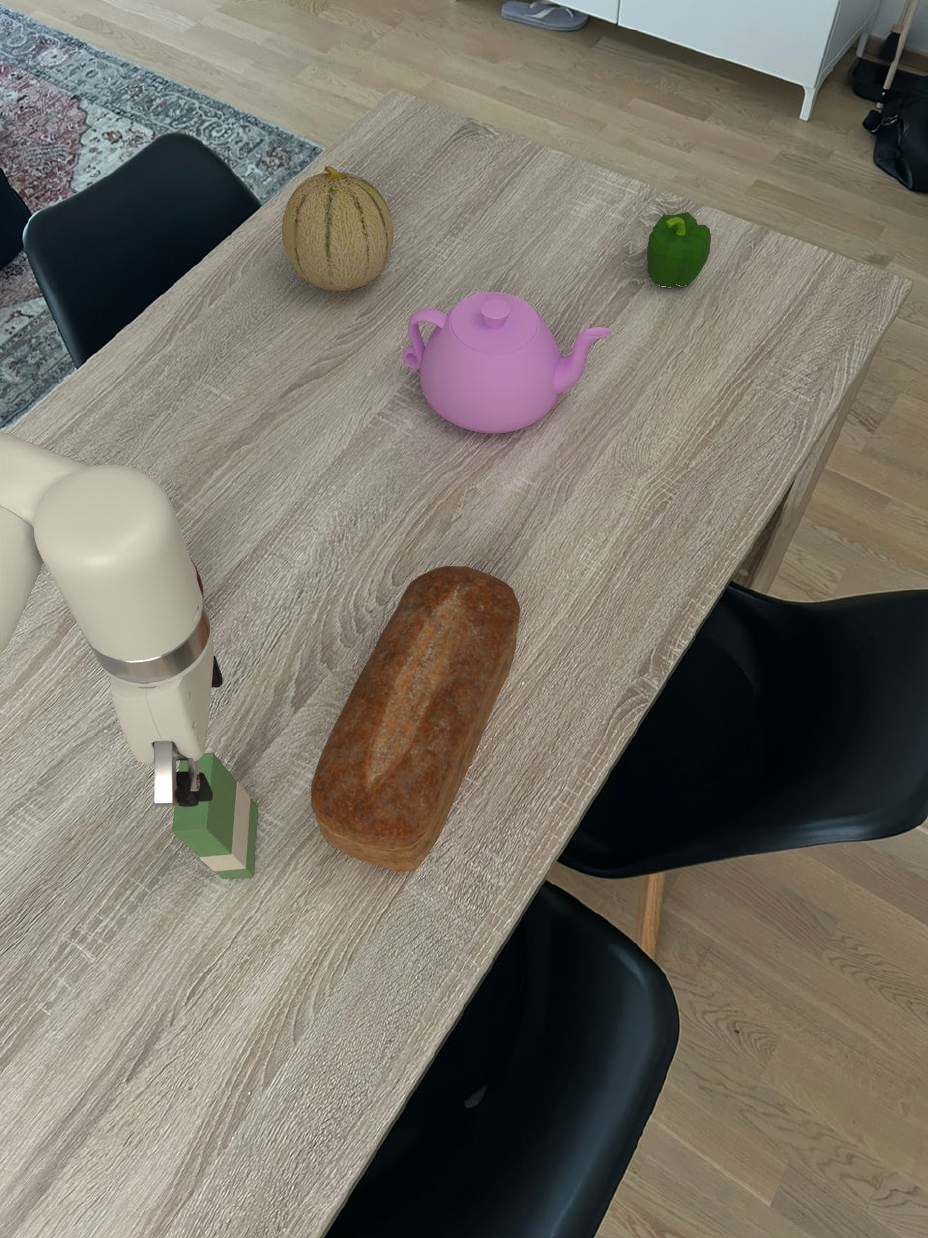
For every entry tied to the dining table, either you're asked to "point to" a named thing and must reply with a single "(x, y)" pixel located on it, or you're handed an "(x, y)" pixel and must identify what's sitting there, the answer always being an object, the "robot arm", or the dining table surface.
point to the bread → (416, 718)
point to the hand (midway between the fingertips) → (197, 739)
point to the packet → (220, 822)
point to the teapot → (493, 362)
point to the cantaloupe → (337, 231)
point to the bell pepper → (677, 250)
